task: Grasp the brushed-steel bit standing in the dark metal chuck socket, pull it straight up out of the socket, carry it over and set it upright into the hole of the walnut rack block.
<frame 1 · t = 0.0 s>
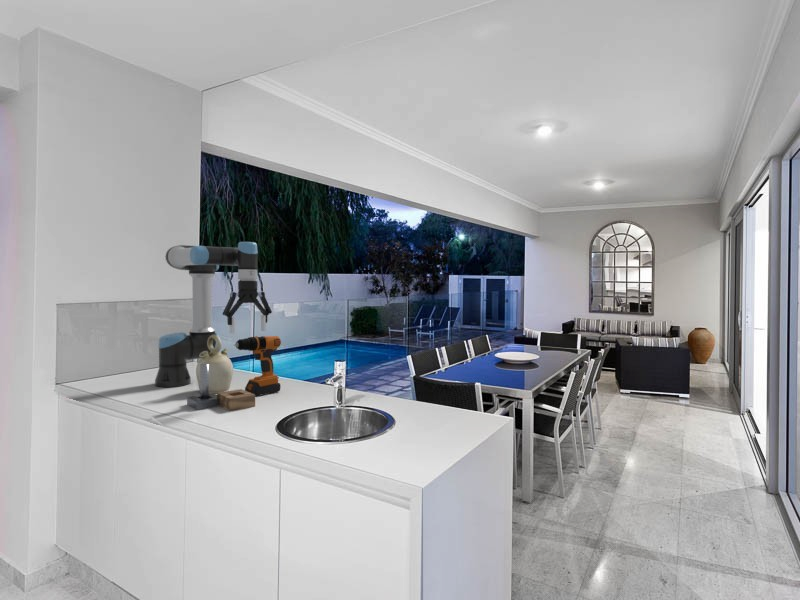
hand: (247, 332, 200), 28 cm above the countertop, fingers open, 13 cm apart
jug: (214, 391, 215), on the countertop
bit: (205, 405, 190), resting on socket block
power drill: (258, 394, 211), on the countertop
socket block: (205, 406, 190), on the countertop
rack: (236, 406, 190), on the countertop
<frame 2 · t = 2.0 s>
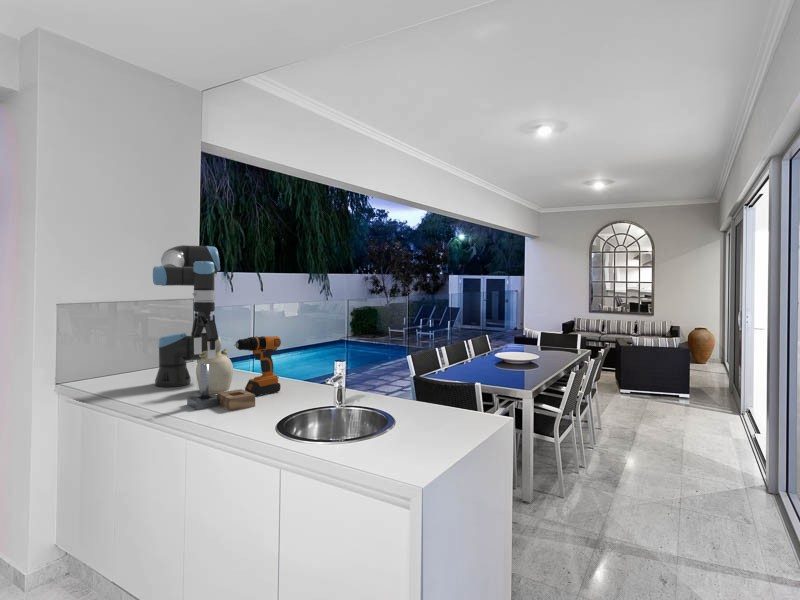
hand: (204, 356, 189), 20 cm above the countertop, fingers open, 13 cm apart
nothing on the countertop moved.
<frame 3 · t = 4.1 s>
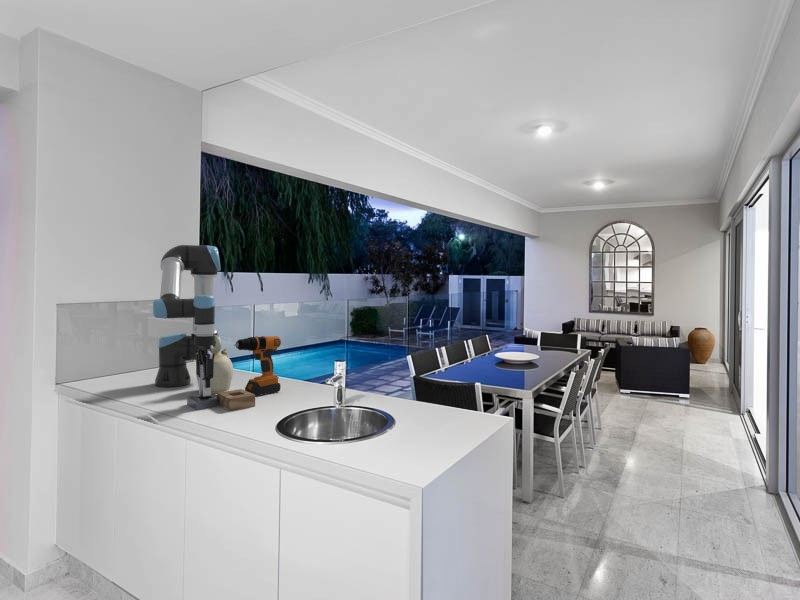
hand: (204, 394, 190), 5 cm above the countertop, fingers closed on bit, 3 cm apart
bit: (205, 405, 190), resting on socket block, touching gripper
everything else where it was.
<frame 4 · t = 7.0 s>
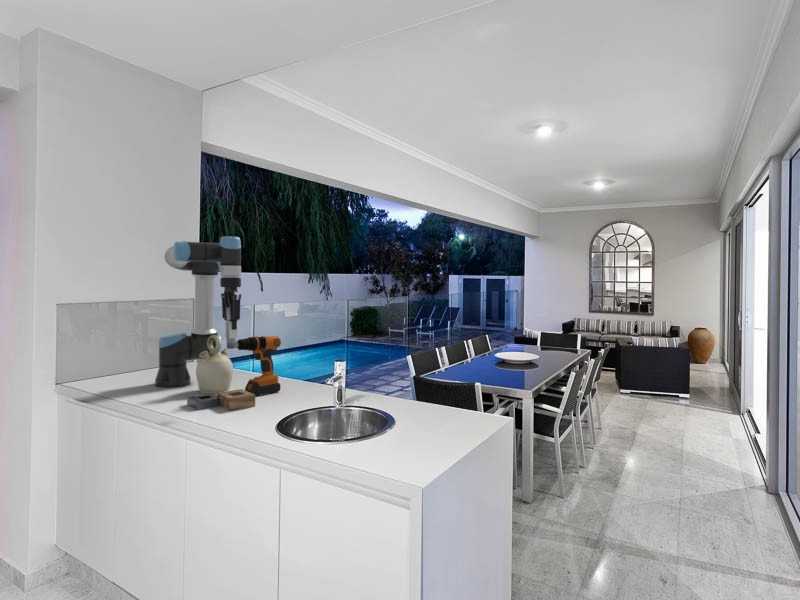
hand: (231, 337, 189), 27 cm above the countertop, fingers closed on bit, 3 cm apart
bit: (231, 348, 189), point 23 cm above the countertop, touching gripper
everything else where it was.
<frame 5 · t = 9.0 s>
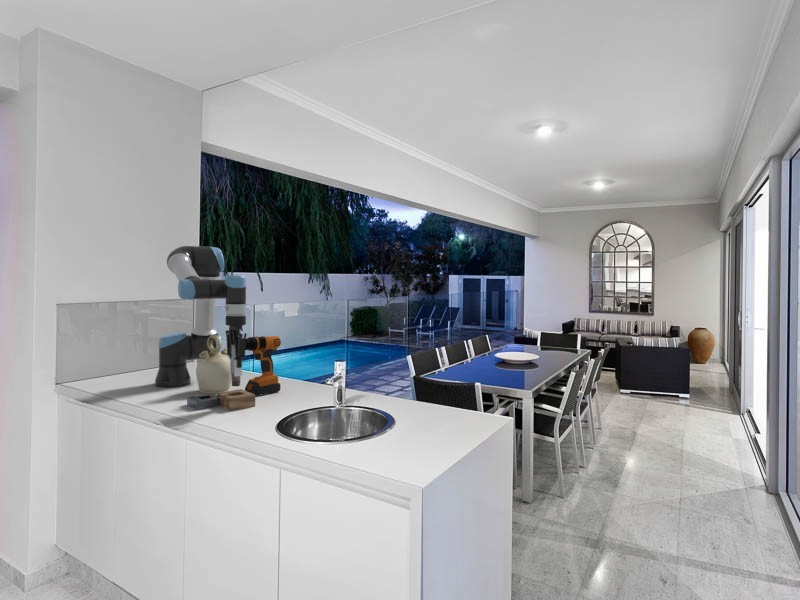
hand: (236, 374, 190), 12 cm above the countertop, fingers closed on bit, 3 cm apart
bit: (235, 385, 190), point 8 cm above the countertop, touching gripper
everything else where it was.
when the fingers open (7 cm above the countertop, at t = 10.3 s): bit drops 2 cm, resting on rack.
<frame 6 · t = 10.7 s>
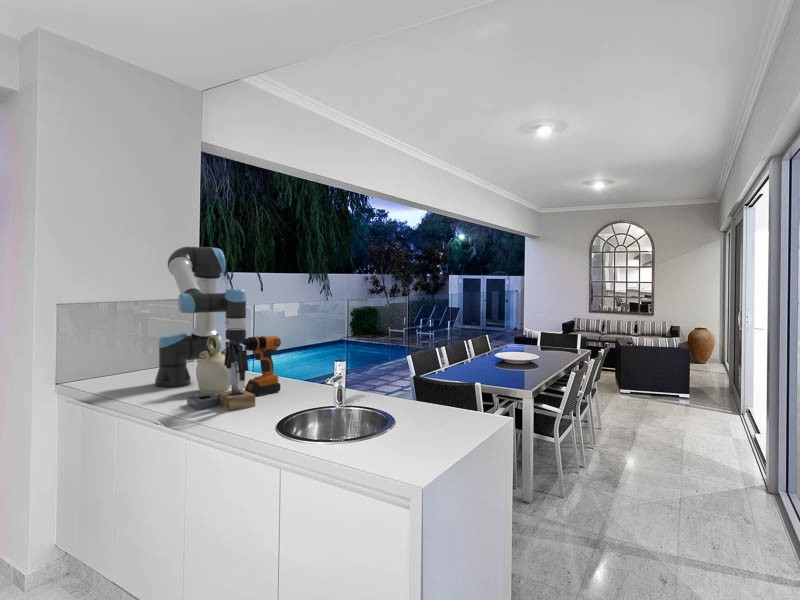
hand: (236, 386, 190), 8 cm above the countertop, fingers open, 8 cm apart
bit: (236, 403, 190), point 1 cm above the countertop, touching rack
everything else where it was.
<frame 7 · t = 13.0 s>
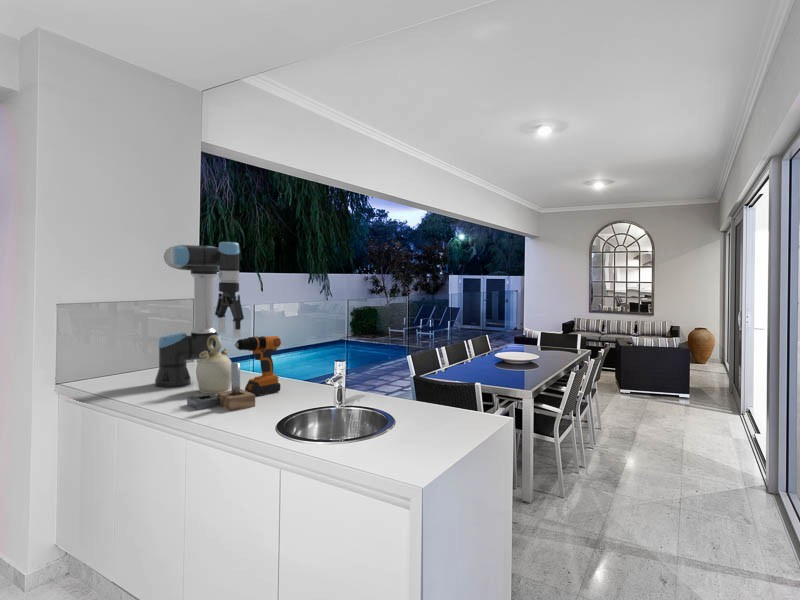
hand: (229, 335, 192), 27 cm above the countertop, fingers open, 13 cm apart
nothing on the countertop moved.
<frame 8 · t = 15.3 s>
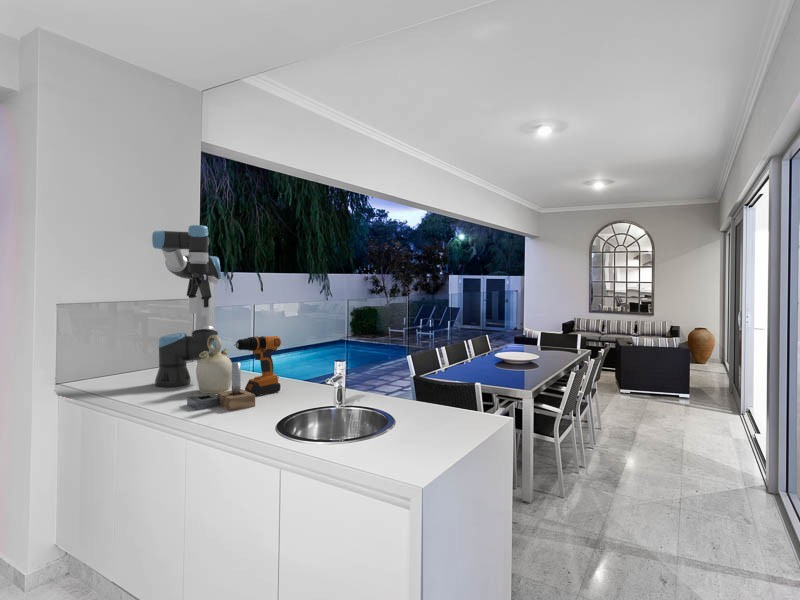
hand: (198, 314, 203), 35 cm above the countertop, fingers open, 13 cm apart
nothing on the countertop moved.
at the end: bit 0.0 cm off-centre on the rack, point 1.0 cm above the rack's base; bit tilted 1°; the gripper is holding nothing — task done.
